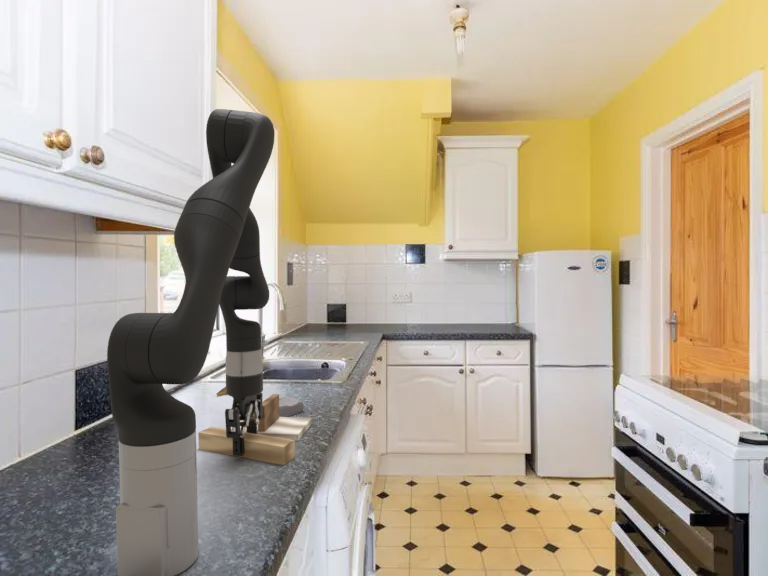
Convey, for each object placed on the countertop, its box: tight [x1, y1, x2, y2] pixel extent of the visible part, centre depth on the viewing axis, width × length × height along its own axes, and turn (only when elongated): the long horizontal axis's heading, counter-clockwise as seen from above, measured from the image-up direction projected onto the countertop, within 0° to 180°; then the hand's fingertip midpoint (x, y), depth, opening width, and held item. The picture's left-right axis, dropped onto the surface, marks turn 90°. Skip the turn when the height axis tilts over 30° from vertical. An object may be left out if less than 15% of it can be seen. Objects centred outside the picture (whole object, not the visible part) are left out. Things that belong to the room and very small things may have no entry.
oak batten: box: [197, 426, 296, 466], centre depth 100 cm, size 4×22×4 cm, turn 67°
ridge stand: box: [231, 393, 313, 442], centre depth 114 cm, size 12×18×8 cm, turn 83°
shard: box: [216, 386, 228, 397], centre depth 151 cm, size 11×8×2 cm
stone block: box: [279, 397, 305, 417], centre depth 128 cm, size 12×5×10 cm
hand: (245, 448), depth 101 cm, fingers open, 6 cm apart
